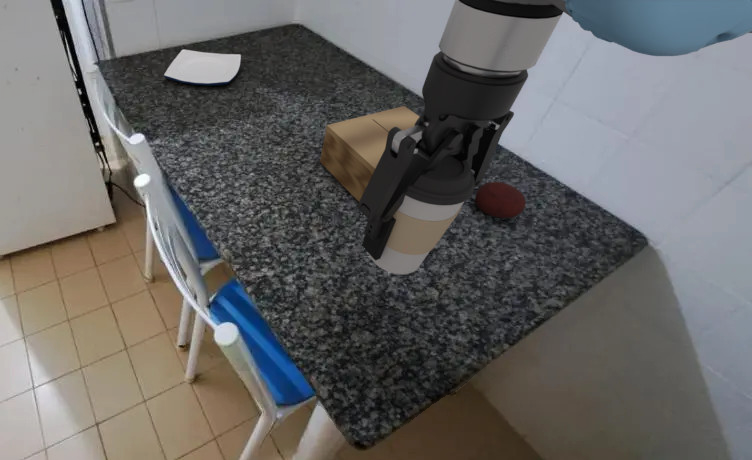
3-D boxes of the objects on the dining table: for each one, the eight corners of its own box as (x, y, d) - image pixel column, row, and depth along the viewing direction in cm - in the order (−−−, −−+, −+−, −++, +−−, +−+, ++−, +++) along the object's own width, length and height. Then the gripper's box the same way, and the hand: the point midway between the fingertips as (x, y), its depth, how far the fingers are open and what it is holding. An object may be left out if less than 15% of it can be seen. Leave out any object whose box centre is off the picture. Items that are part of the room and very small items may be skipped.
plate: (160, 85, 110) (159, 76, 108) (181, 56, 124) (180, 47, 122) (231, 93, 108) (231, 83, 106) (244, 62, 122) (244, 53, 120)
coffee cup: (422, 231, 54) (469, 136, 43) (438, 284, 47) (498, 189, 37) (355, 226, 54) (385, 131, 44) (363, 277, 48) (400, 181, 37)
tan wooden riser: (441, 181, 82) (460, 143, 75) (363, 207, 76) (376, 168, 69) (391, 141, 92) (404, 105, 85) (319, 161, 86) (326, 124, 79)
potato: (490, 230, 72) (507, 206, 68) (460, 201, 78) (474, 177, 73) (522, 222, 74) (540, 198, 69) (490, 194, 79) (505, 170, 75)
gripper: (530, 27, 38) (442, 200, 55) (352, 61, 32) (312, 245, 48) (606, 56, 34) (485, 236, 50) (415, 102, 27) (347, 291, 44)
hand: (400, 240), depth 49 cm, fingers closed on coffee cup, 8 cm apart
